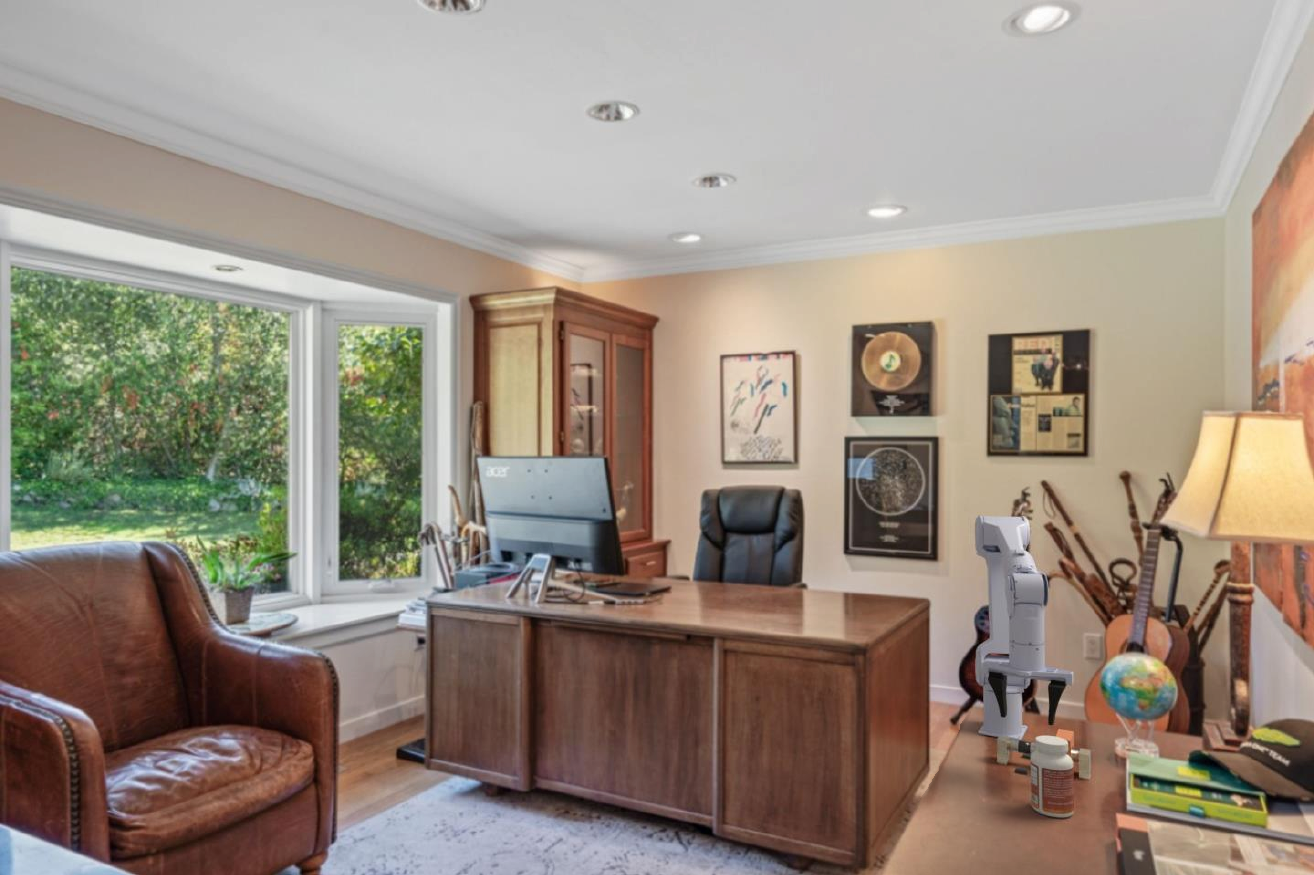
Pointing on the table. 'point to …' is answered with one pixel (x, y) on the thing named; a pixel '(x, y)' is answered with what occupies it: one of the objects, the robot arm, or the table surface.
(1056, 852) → the table surface
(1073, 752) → the pipe rail
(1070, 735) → the upright terracotta block
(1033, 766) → the pill bottle
